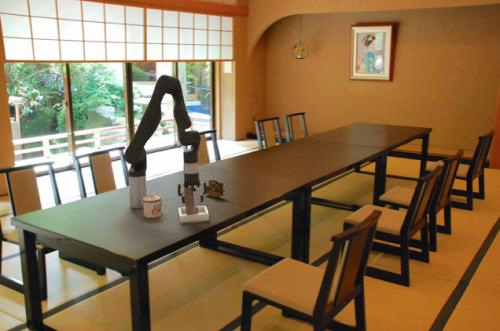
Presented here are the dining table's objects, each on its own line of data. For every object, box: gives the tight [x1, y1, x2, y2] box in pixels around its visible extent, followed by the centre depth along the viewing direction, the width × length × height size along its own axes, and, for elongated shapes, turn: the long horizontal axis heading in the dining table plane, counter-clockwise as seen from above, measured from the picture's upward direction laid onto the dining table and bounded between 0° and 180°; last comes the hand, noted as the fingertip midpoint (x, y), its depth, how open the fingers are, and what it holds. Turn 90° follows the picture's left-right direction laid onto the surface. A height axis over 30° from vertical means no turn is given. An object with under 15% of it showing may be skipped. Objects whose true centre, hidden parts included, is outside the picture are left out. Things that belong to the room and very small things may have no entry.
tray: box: [177, 205, 210, 224], centre depth 248 cm, size 14×14×4 cm
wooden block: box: [183, 187, 198, 215], centre depth 247 cm, size 7×3×15 cm, turn 158°
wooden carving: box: [202, 179, 227, 198], centre depth 283 cm, size 16×5×10 cm, turn 53°
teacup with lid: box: [143, 192, 163, 219], centre depth 253 cm, size 12×9×12 cm
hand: (192, 202), depth 247 cm, fingers open, 8 cm apart
